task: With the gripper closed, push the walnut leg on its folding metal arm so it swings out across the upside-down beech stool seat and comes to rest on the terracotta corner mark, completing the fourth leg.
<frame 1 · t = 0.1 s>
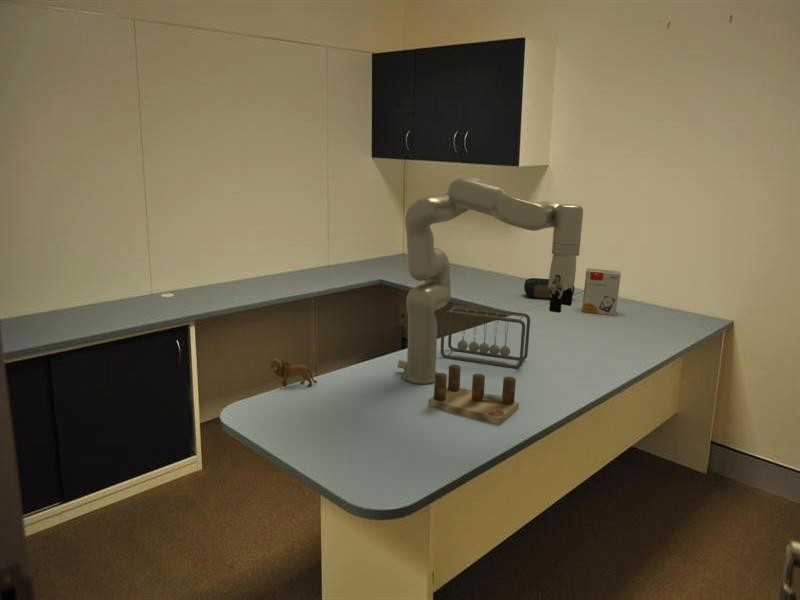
hand: (560, 308, 185), 31 cm above the table, tool pointing down, fingers open, 9 cm apart
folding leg: (493, 388, 191), point 6 cm above the table, hinge at 70.0°
stool seat: (473, 407, 193), on the table
lion figurine: (292, 386, 206), on the table
portable speaker: (548, 298, 331), on the table
hard drive box: (598, 312, 306), on the table
newton's cradle: (483, 359, 236), on the table
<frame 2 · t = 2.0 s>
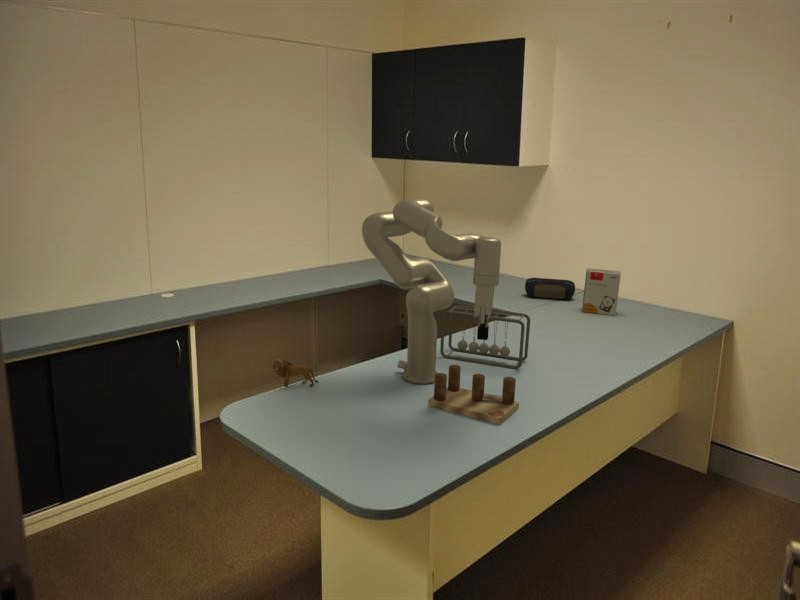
hand: (482, 338, 195), 19 cm above the table, tool pointing down, fingers closed
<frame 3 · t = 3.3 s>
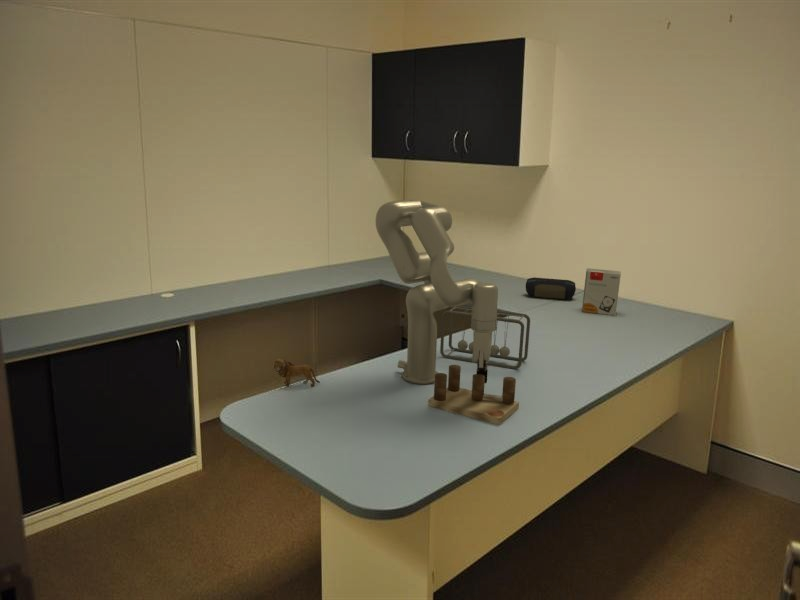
hand: (481, 382, 198), 5 cm above the table, tool pointing down, fingers closed
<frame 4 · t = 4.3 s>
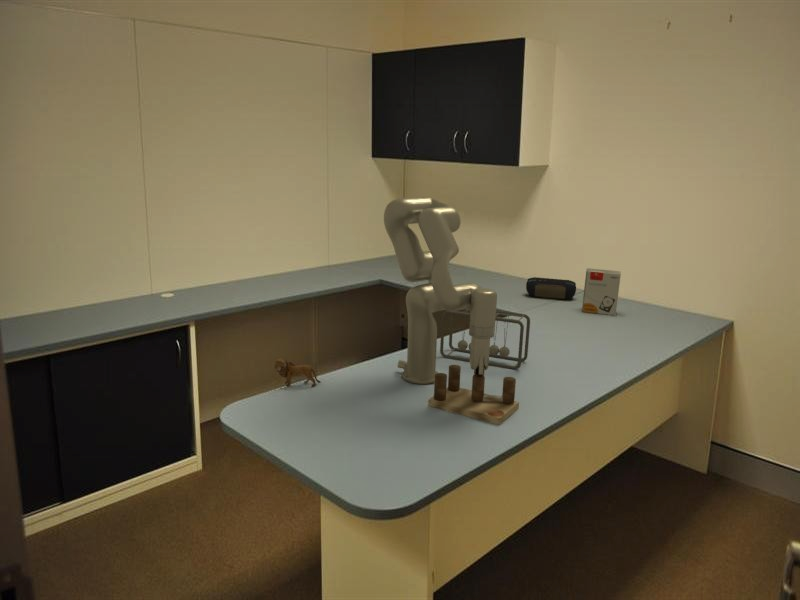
hand: (478, 387, 196), 4 cm above the table, tool pointing down, fingers closed
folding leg: (493, 389, 191), point 6 cm above the table, hinge at 64.5°, touching gripper
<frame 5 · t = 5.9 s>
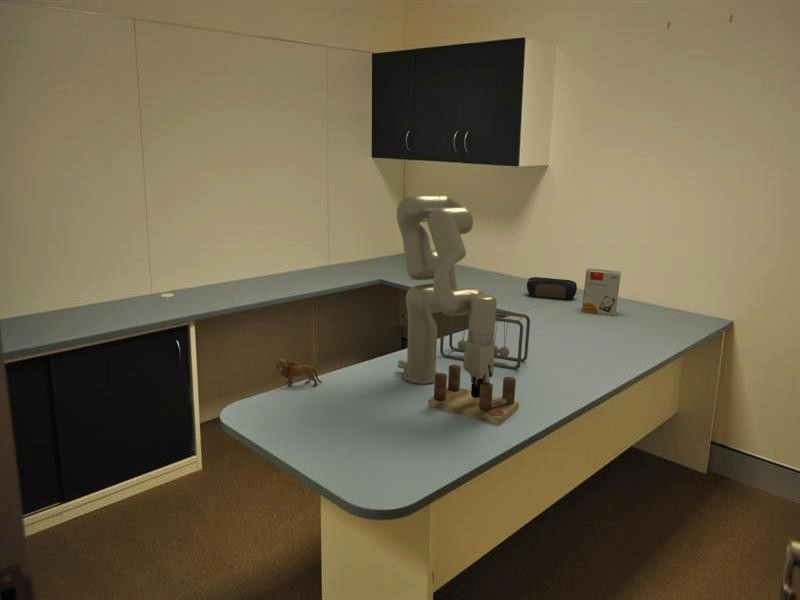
hand: (476, 396, 190), 4 cm above the table, tool pointing down, fingers closed
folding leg: (497, 393, 188), point 6 cm above the table, hinge at 23.9°, touching gripper
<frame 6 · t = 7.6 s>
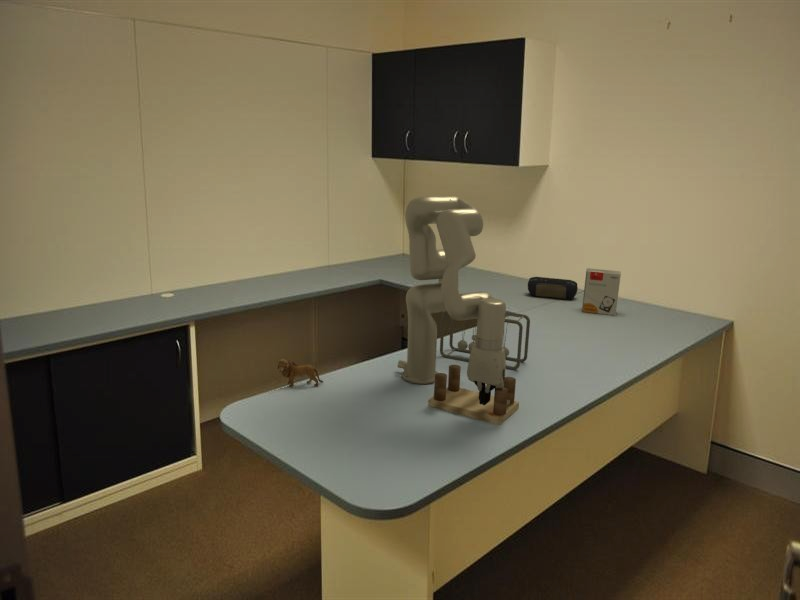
hand: (484, 403, 186), 4 cm above the table, tool pointing down, fingers closed
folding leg: (504, 395, 186), point 6 cm above the table, hinge at -7.4°, touching gripper
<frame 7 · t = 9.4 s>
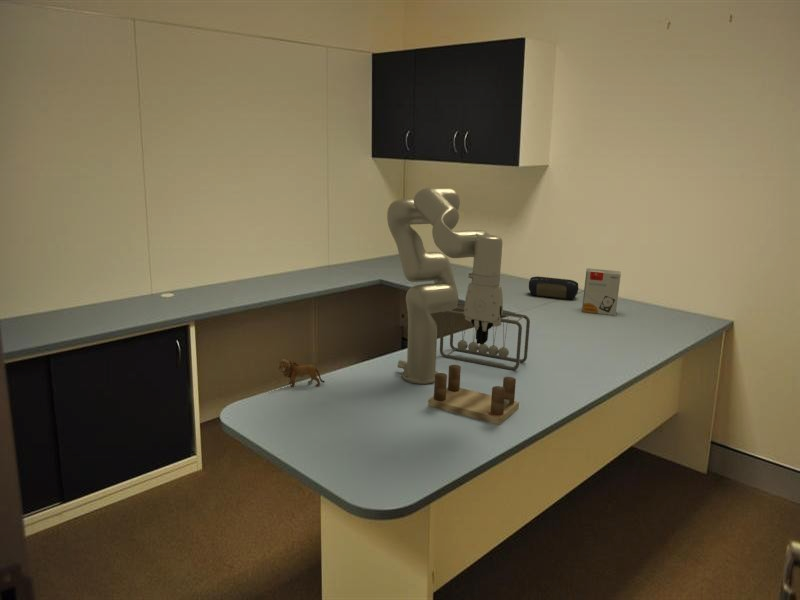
hand: (481, 342, 184), 21 cm above the table, tool pointing down, fingers closed
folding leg: (503, 395, 187), point 6 cm above the table, hinge at -2.5°
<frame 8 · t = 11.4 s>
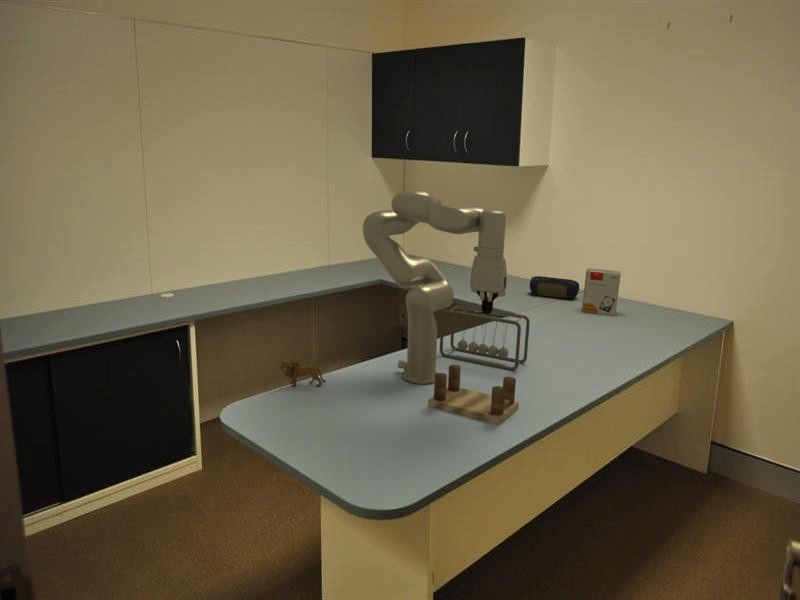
hand: (486, 313, 193), 27 cm above the table, tool pointing down, fingers closed
at the end: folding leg at -2° (first picture: +70°) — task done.
